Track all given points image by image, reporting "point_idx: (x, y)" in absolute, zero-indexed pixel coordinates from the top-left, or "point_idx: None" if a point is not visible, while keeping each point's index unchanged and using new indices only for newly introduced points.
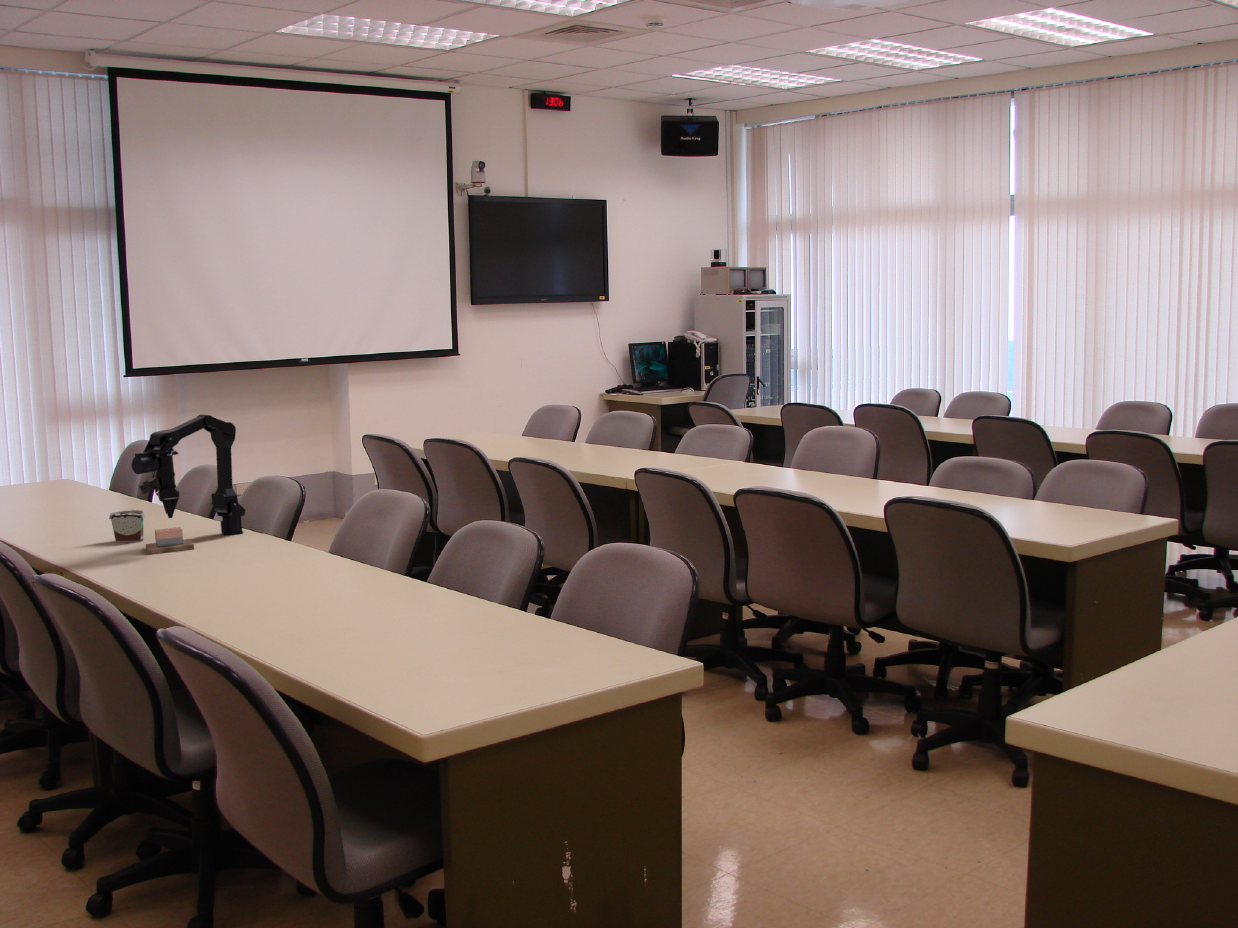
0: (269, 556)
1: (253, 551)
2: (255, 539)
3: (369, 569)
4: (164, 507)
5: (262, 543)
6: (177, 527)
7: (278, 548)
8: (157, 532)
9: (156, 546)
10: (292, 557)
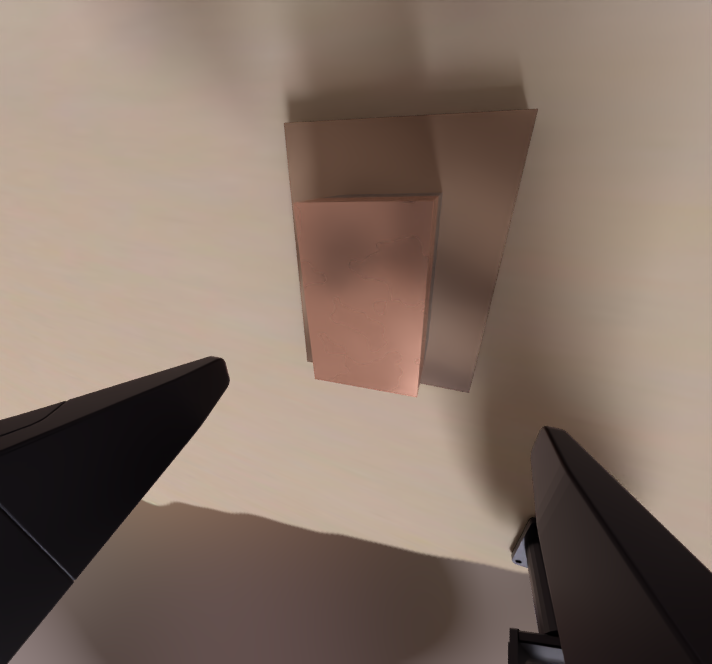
0: None
1: (206, 447)
2: (368, 519)
3: None
4: (587, 512)
5: (297, 500)
6: (410, 379)
7: (221, 488)
8: (296, 213)
9: (369, 189)
10: None
